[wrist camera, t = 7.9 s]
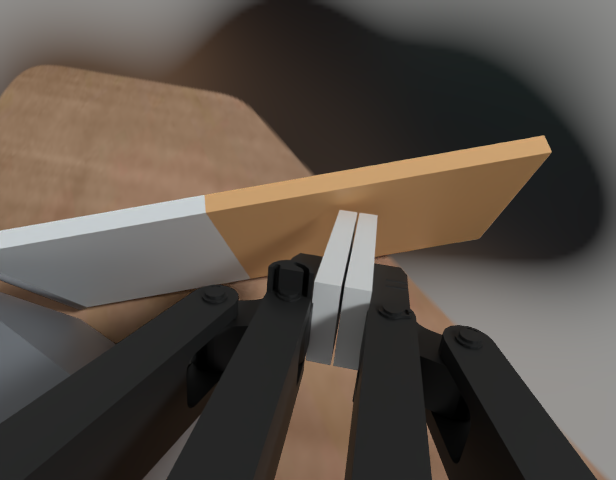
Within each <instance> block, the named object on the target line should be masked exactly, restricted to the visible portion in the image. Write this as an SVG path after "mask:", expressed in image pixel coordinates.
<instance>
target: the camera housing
mask: <svg viewBox="0 0 616 480" xmlns="http://www.w3.org/2000/svg"><path fill="white" fill-rule="evenodd" d="M115 345H116V344H115V343H113V342H112V341H110V340H109V339H108V338H106V337H105V336H103V335H102V334H101V333H99V332H98V331H96V330H95V329H94V328H92V327H91V326H89V325H88V324H87V323H85V322H84V321H82V320H81V319H79V318H76V317H73V316H70V315H67V314H64V313H61V312H58V311H55V310H52V309H49V308H46V307H43V306H40V305H37V304H35V303H32V302H29V301H26V300H23V299H20V298H17V297H14V296H11V295H8V294H5V293H2V292H0V423H2V422H3V421H5V420H6V419H8V418H9V417H11V416H12V415H13V414H15V413H16V412H18V411H19V410H21V409H22V408H24V407H25V406H27V405H28V404H30V403H31V402H33V401H34V400H35V399H37V398H38V397H40V396H41V395H43V394H44V393H46V392H47V391H49V390H50V389H52V388H53V387H55V386H56V385H57V384H59V383H60V382H62V381H63V380H65V379H66V378H68V377H69V376H71V375H72V374H74V373H75V372H76V371H78V370H79V369H81V368H82V367H84V366H85V365H87V364H88V363H90V362H91V361H93V360H94V359H96V358H97V357H98V356H100V355H101V354H103V353H104V352H106V351H107V350H109V349H110V348H112V347H113V346H115ZM199 417H200V416H199ZM199 417H198V418H197V419H196V420H195V422H194V423H193V424H192V425H191V426H190V427H189V428H188V429H187V430H186V432H185V433H184V434H183V435H182V436H181V437H180V438H179V439H178V440H177V442H176V443H175V444H174V445H173V446H172V447H171V448H170V449H169V450H168V452H167V453H166V454H165V455H164V456H163V457H162V458H161V459H160V460H159V462H158V463H157V464H156V465H155V466H154V467H153V468H152V469H151V470H150V472H149V473H148V474H147V475H146V476H145V477H144V478H143V479H142V480H166V478H167V477H168V475H169V473H170V471H171V470H172V468H173V466H174V464H175V462H176V460H177V458H178V456H179V455H180V453H181V451H182V449H183V447H184V445H185V443H186V442H187V440H188V438H189V436H190V434H191V432H192V430H193V428H194V427H195V425H196V423H197V421H198V419H199Z"/></svg>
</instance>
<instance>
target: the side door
mask: <svg viewBox="0 0 616 480" xmlns="http://www.w3.org/2000/svg"><path fill="white" fill-rule="evenodd" d="M550 153H551V149H550V147H549V145H548V143H547V141H546V139H545V137H544V136H539V137H533V138H527V139H522V140H516V141H510V142H505V143H499V144H493V145H487V146H482V147H476V148H471V149H465V150H459V151H453V152H447V153H442V154H436V155H431V156H425V157H419V158H413V159H408V160H402V161H396V162H390V163H385V164H380V165H374V166H367V167H362V168H356V169H350V170H345V171H339V172H333V173H328V174H322V175H316V176H310V177H305V178H299V179H293V180H288V181H282V182H276V183H270V184H265V185H259V186H253V187H248V188H242V189H236V190H230V191H225V192H219V193H213V194H208V195H202V196H196V197H190V198H185V199H179V200H173V201H168V202H162V203H156V204H150V205H145V206H139V207H133V208H128V209H122V210H116V211H111V212H105V213H99V214H93V215H88V216H82V217H76V218H71V219H65V220H59V221H53V222H48V223H42V224H36V225H31V226H25V227H19V228H13V229H8V230H2V231H0V280H1V281H4V282H6V283H9V284H12V285H14V286H17V287H20V288H22V289H25V290H28V291H30V292H33V293H36V294H38V295H41V296H44V297H46V298H49V299H52V300H54V301H57V302H60V303H62V304H65V305H68V306H70V307H73V308H76V309H78V310H83V309H85V308H87V307H91V306H97V305H103V304H108V303H114V302H120V301H126V300H131V299H137V298H143V297H148V296H154V295H160V294H166V293H171V292H177V291H183V290H189V289H194V288H200V287H205V286H209V285H217V284H223V283H229V282H234V281H240V280H246V279H252V278H257V277H263V276H268V266H269V265H270V264H272V263H273V262H276V261H280V260H291V259H292V258H293V257H294V256H296V255H298V254H299V253H304V254H310V255H317V256H324V253H325V250H326V247H327V244H328V242H329V239H330V236H331V233H332V230H333V227H334V225H335V222H336V219H337V216H338V213H339V210H344V211H351V212H357V219H356V226H355V233H356V228H357V223H358V218H359V213H365V214H372V215H378V217H377V230H376V244H375V257H377V256H383V255H389V254H395V253H400V252H406V251H412V250H417V249H423V248H429V247H434V246H440V245H446V244H451V243H457V242H463V241H468V240H474V239H479V238H480V237H481V236H482V235H483V233H484V232H485V231H486V230H487V229H488V227H489V226H490V225H491V224H492V222H494V220H495V219H496V218H497V217H498V215H499V214H500V213H501V212H502V211H503V209H504V208H505V207H506V206H507V205H508V204H509V202H510V201H511V200H512V199H513V198H514V197H515V195H516V194H517V193H518V192H519V190H520V189H521V188H522V187H523V186H524V185H525V183H526V182H527V181H528V180H529V179H530V177H531V176H532V175H533V174H534V173H535V171H536V170H537V169H538V168H539V167H540V165H541V164H542V163H543V162H544V161H545V160H546V158H547V157H548V156H549V155H550ZM355 233H354V238H355ZM353 243H354V240H353ZM352 248H353V247H352Z"/></svg>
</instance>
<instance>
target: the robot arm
mask: <svg viewBox="0 0 616 480" xmlns="http://www.w3.org/2000/svg"><path fill="white" fill-rule="evenodd" d="M377 217H378V215H372V214H365V213H359V218H358V223H357V228H356V233H355V226H356V219H357V212H351V211H344V210H339V213H338V216H337V219H336V222H335V225H334V227H333V230H332V233H331V236H330V239H329V242H328V244H327V247H326V250H325V253H324V256H317V255H310V254H304V253H299V254H298V255H296V256H294V257H293V258H292V259H291V260H280V261H276V262H273V263H272V264H270V265H269V266H268V280H267V292H266V294H265V296H264V298H263V299H259V300H245V301H238V293H237V292H236V291H235V290H234V289H232V288H230V287H227V286H222V285H209V286H205V287H201V288H199V289H197V290H195V291H194V292H192V293H191V294H189V295H188V296H186V297H185V298H183V299H182V300H180V301H179V302H178V303H176V304H175V305H173V306H172V307H170V308H169V309H167V310H166V311H164V312H163V313H161V314H160V315H159V316H157V317H156V318H154V319H153V320H151V321H150V322H148V323H147V324H145V325H144V326H142V327H141V328H139V329H138V330H137V331H135V332H134V333H132V334H131V335H129V336H128V337H126V338H125V339H123V340H122V341H120V342H119V343H117V344H116V345H115V346H113V347H112V348H110V349H109V350H107V351H106V352H104V353H103V354H101V355H100V356H98V357H97V358H96V359H94V360H93V361H91V362H90V363H88V364H87V365H85V366H84V367H82V368H81V369H79V370H78V371H76V372H75V373H74V374H72V375H71V376H69V377H68V378H66V379H65V380H63V381H62V382H60V383H59V384H57V385H56V386H55V387H53V388H52V389H50V390H49V391H47V392H46V393H44V394H43V395H41V396H40V397H38V398H37V399H35V400H34V401H33V402H31V403H30V404H28V405H27V406H25V407H24V408H22V409H21V410H19V411H18V412H16V413H15V414H13V415H12V416H11V417H9V418H8V419H6V420H5V421H3V422H2V423H0V480H142V479H143V478H144V477H145V476H146V475H147V474H148V473H149V472H150V470H151V469H152V468H153V467H154V466H155V465H156V464H157V463H158V462H159V460H160V459H161V458H162V457H163V456H164V455H165V454H166V453H167V452H168V450H169V449H170V448H171V447H172V446H173V445H174V444H175V443H176V442H177V440H178V439H179V438H180V437H181V436H182V435H183V434H184V433H185V432H186V430H187V429H188V428H189V427H190V426H191V425H192V424H193V423H194V422H195V420H196V419H197V418H198V417H199V416H200V417H199V419H198V421H197V423H196V425H195V427H194V428H193V430H192V432H191V434H190V436H189V438H188V440H187V442H186V443H185V445H184V447H183V449H182V451H181V453H180V455H179V456H178V458H177V460H176V462H175V464H174V466H173V468H172V470H171V471H170V473H169V475H168V477H167V479H166V480H274V478H275V475H276V471H277V467H278V464H279V460H280V456H281V453H282V449H283V445H284V441H285V438H286V434H287V430H288V427H289V423H290V419H291V416H292V412H293V408H294V405H295V401H296V397H297V393H298V390H299V386H300V382H301V379H302V375H303V371H304V362H305V356H306V360H307V361H312V362H317V363H322V364H328V365H330V364H331V359H332V354H333V349H334V344H335V339H336V334H337V329H338V324H339V329H338V336H337V343H336V350H335V357H334V364H333V366H338V367H343V368H348V369H353V370H358V373H357V378H356V384H355V390H354V396H353V402H354V403H353V411H352V420H351V429H350V437H349V446H348V454H347V463H346V472H345V480H432V476H431V466H430V456H429V445H428V435H427V425H428V428H429V430H430V433H431V435H432V438H433V440H434V443H435V445H436V448H437V451H438V453H439V456H440V458H441V461H442V463H443V466H444V468H445V471H446V473H447V476H448V478H449V480H597V479H596V478H595V476H594V475H593V474H592V472H591V471H590V469H589V468H588V467H587V465H586V464H585V463H584V461H583V460H582V459H581V457H580V456H579V455H578V453H577V452H576V451H575V449H574V448H573V447H572V445H571V444H570V443H569V441H568V440H567V439H566V437H565V436H564V435H563V433H562V432H561V431H560V429H559V428H558V427H557V425H556V424H555V423H554V421H553V420H552V419H551V417H550V416H549V415H548V413H547V412H546V411H545V409H544V408H543V407H542V405H541V404H540V403H539V401H538V400H537V399H536V397H535V396H534V395H533V394H532V392H531V391H530V389H529V388H528V387H527V385H526V384H525V383H524V381H523V380H522V379H521V377H520V376H519V375H518V373H517V372H516V371H515V369H514V368H513V367H512V365H511V364H510V363H509V361H508V360H507V359H506V357H505V356H504V355H503V354H502V352H501V351H500V349H499V348H498V347H497V345H496V344H495V343H494V341H493V340H492V339H491V338H490V337H489V336H487V335H486V334H484V333H483V332H481V331H479V330H477V329H475V328H472V327H468V326H461V325H456V326H450V327H448V328H446V329H445V330H444V332H443V334H442V335H441V334H438V333H435V332H433V331H430V330H428V329H426V328H424V327H422V326H421V325H419V324H418V323H417V322H416V316H415V314H414V312H413V311H412V310H411V309H410V303H409V292H408V284H407V283H408V281H407V275H406V274H405V272H404V271H403V270H402V269H401V268H399V267H393V266H386V265H380V264H374V257H375V244H376V230H377ZM354 233H355V238H354ZM353 240H354V243H353ZM352 247H353V248H352ZM340 314H341V315H340ZM339 319H340V322H339ZM306 352H307V354H306ZM426 423H427V425H426Z"/></svg>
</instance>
